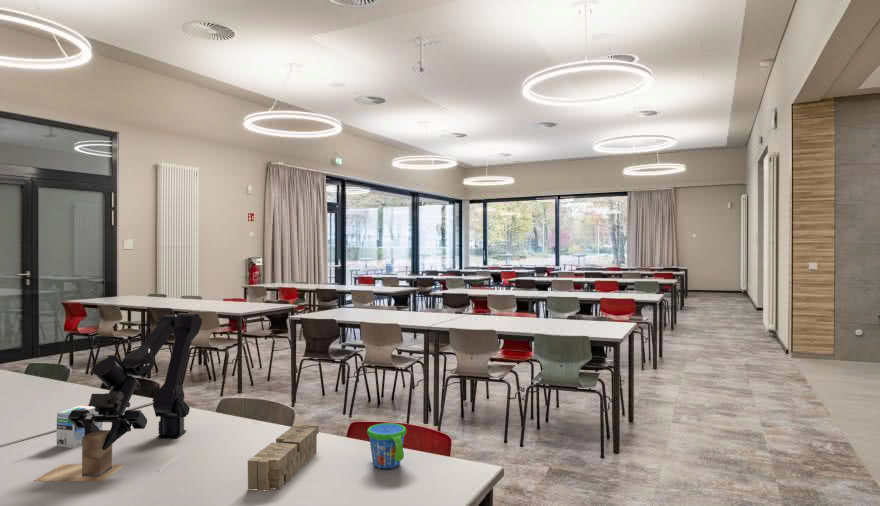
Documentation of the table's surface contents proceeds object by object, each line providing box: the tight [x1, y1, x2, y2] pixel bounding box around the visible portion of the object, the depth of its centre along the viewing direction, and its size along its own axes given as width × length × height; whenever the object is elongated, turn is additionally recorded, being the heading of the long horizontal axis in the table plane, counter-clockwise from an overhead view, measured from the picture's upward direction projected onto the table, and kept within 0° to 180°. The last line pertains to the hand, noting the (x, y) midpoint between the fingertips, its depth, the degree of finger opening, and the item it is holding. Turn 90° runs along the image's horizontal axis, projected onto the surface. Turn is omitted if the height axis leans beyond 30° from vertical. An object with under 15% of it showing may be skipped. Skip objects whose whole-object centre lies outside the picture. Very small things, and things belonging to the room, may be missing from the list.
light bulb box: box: [55, 403, 103, 449], centre depth 167 cm, size 11×7×11 cm, turn 168°
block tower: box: [247, 423, 320, 492], centre depth 150 cm, size 8×8×29 cm
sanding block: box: [81, 429, 113, 476], centre depth 143 cm, size 4×6×10 cm
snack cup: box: [366, 422, 407, 470], centre depth 153 cm, size 16×10×10 cm
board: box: [33, 463, 127, 482], centre depth 143 cm, size 17×11×1 cm, turn 92°
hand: (94, 449), depth 142 cm, fingers closed on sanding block, 4 cm apart
